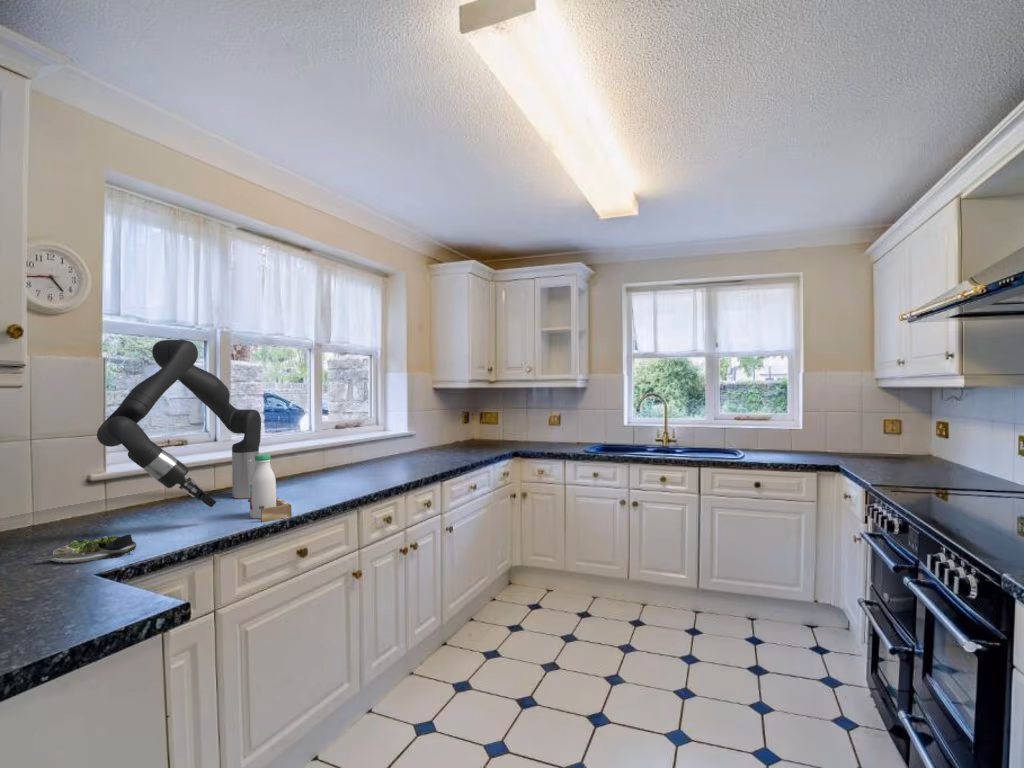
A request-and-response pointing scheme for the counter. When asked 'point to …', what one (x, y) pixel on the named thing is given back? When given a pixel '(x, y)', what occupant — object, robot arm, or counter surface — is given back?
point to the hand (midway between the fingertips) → (213, 504)
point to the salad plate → (92, 549)
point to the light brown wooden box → (275, 511)
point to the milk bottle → (262, 486)
